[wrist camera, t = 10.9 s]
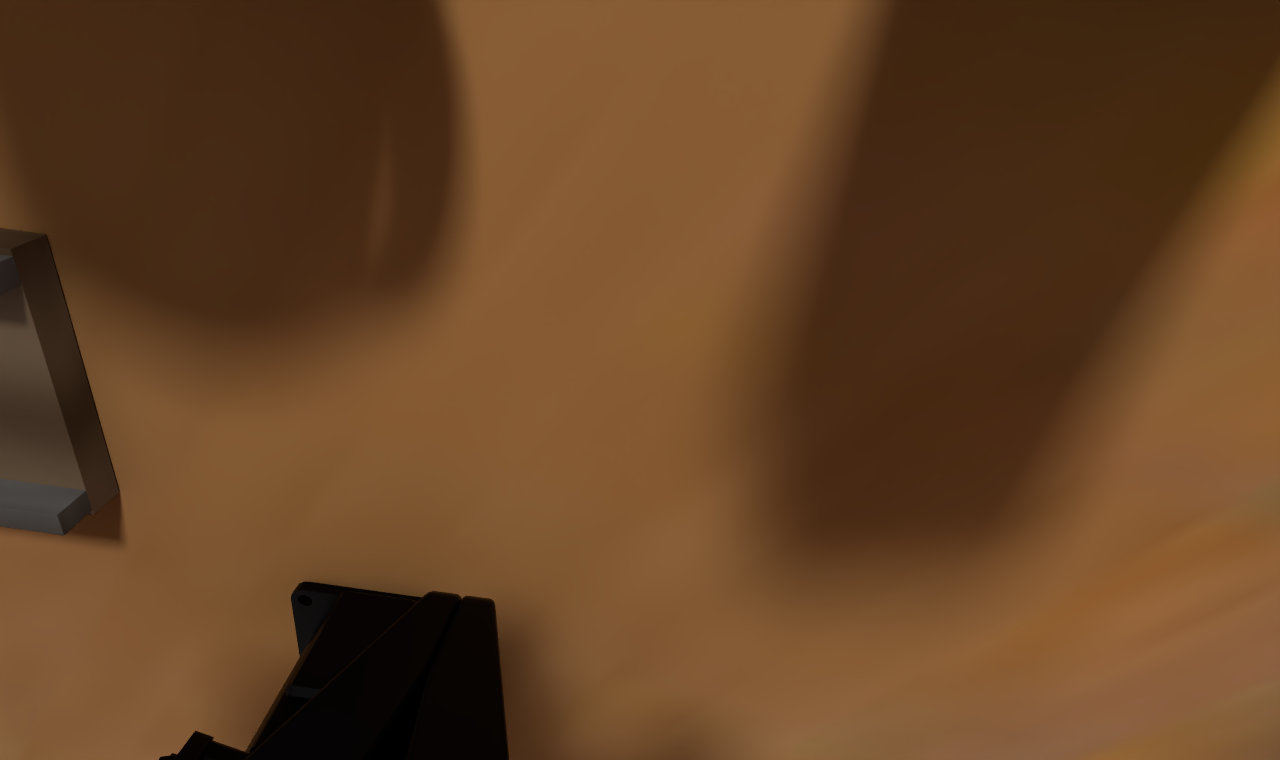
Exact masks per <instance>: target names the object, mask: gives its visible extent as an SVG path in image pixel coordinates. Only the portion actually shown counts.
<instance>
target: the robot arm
mask: <svg viewBox="0 0 1280 760" xmlns="http://www.w3.org/2000/svg"><path fill="white" fill-rule="evenodd" d="M291 602H292V608H293V615H294V621H295V628H296V634H297V641H298V647H299V654H300V658H299V659H298V661H297V663H296V665H295V666H294V668H293V670H292V672H291V673H290V675H289V677H288V679H287V680H286V682H285V684H284V685H283V687H282V689H281V691H280V692H279V694H278V696H277V698H276V699H275V701H274V703H273V704H272V706H271V708H270V710H269V711H268V713H267V715H266V717H265V718H264V720H263V722H262V724H261V725H260V727H259V729H258V730H257V732H256V734H255V736H254V737H253V739H252V741H251V743H250V744H249V746H248V748H247V750H246V751H245V752H244V751H241V750H238V749H235V748H232V747H229V746H227V745H224V744H221V743H218V742H215V741H213V738H214V737H212V736H209V735H206V734H204V733H201V732H198V731H195V732H194V733H193V735H192V736H191V737H190V739H189V740H188V741H187V743H186V744H185V745H184V747H183V748H182V749H181V750H180V752H179V753H178V754H174V753H172V754H171V755H170V756H163V757H160V758H159V760H509V752H508V741H507V730H506V719H505V708H504V697H503V686H502V675H501V664H500V653H499V642H498V631H497V620H496V609H495V603H494V601H493V600H492V599H488V598H481V597H473V596H465V597H463V598H461V597H460V596H459V595H457V594H452V593H445V592H438V591H432V592H429V593H427V594H426V595H424V596H423V597H422V598H421V597H413V596H406V595H399V594H392V593H385V592H378V591H370V590H363V589H356V588H349V587H342V586H335V585H328V584H320V583H313V582H302V583H300V584H299V585H298V586H297V587H296V589H295V590H294V592H293V593H292V595H291Z"/></svg>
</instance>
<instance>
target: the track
mask: <svg viewBox="0 0 1280 760" xmlns="http://www.w3.org/2000/svg"><path fill="white" fill-rule="evenodd" d="M118 493H119V490H118V486H117V483H116V479H115V476H114V472H113V469H112V465H111V462H110V458H109V455H108V451H107V448H106V444H105V441H104V437H103V433H102V430H101V426H100V423H99V419H98V416H97V412H96V409H95V405H94V402H93V398H92V395H91V391H90V388H89V384H88V381H87V377H86V374H85V370H84V367H83V363H82V360H81V356H80V353H79V349H78V346H77V342H76V339H75V335H74V332H73V328H72V325H71V321H70V318H69V314H68V311H67V307H66V304H65V300H64V296H63V293H62V289H61V286H60V282H59V279H58V275H57V272H56V268H55V265H54V261H53V258H52V254H51V251H50V247H49V244H48V240H47V237H46V235H45V234H38V233H31V232H23V231H16V230H9V229H2V228H0V526H1V527H8V528H16V529H23V530H30V531H37V532H44V533H51V534H58V535H65V534H66V533H67V532H68V531H70V530H71V529H72V528H73V527H74V526H75V525H76V524H77V523H78V522H80V521H81V520H82V519H83V518H84V517H85V516H86V515H87V514H90V515H94V514H95V513H97V512H98V511H99V510H100V509H101V508H102V507H103V506H104V505H105V504H106V503H108V502H109V501H110V500H111V499H112V498H113V497H114V496H115V495H116V494H118Z"/></svg>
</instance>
